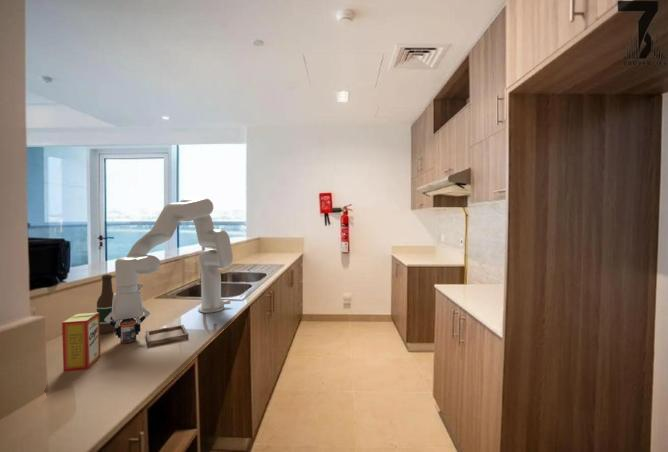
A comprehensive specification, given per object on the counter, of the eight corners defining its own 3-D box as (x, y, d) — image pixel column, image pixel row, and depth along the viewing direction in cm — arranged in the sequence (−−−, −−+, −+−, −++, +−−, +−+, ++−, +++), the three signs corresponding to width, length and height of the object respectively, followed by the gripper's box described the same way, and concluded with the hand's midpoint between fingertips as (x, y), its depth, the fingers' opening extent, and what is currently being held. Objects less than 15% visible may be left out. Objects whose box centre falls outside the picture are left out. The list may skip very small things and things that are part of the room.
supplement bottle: (125, 338, 128) (124, 313, 127) (139, 338, 128) (138, 313, 128) (117, 344, 122) (116, 317, 122) (131, 343, 123) (131, 317, 122)
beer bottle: (123, 329, 138) (121, 274, 137) (103, 335, 131) (102, 277, 130) (112, 326, 142) (110, 272, 141) (92, 332, 134) (91, 275, 134)
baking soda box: (87, 368, 103) (86, 319, 102) (63, 371, 101) (62, 321, 100) (100, 356, 112) (99, 311, 111) (78, 358, 110) (77, 312, 110)
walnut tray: (183, 329, 138) (183, 324, 138) (188, 338, 128) (188, 333, 128) (145, 335, 131) (145, 331, 131) (148, 346, 120) (148, 341, 120)
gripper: (151, 284, 132) (152, 328, 133) (100, 290, 123) (101, 336, 124) (153, 288, 126) (154, 333, 127) (99, 294, 117) (100, 343, 117)
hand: (128, 334), depth 125 cm, fingers closed on supplement bottle, 5 cm apart
